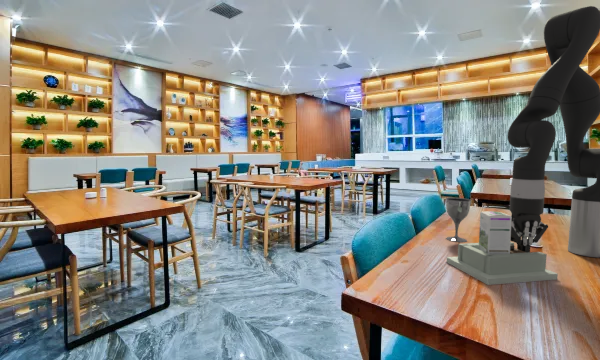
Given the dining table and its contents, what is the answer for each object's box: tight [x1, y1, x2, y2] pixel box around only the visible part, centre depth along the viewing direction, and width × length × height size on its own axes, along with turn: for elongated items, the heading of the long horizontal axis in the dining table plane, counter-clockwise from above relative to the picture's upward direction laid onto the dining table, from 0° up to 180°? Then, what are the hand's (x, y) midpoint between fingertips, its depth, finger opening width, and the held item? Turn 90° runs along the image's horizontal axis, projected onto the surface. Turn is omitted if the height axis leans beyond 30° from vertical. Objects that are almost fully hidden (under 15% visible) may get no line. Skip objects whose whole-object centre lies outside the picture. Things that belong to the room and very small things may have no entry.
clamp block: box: [510, 245, 527, 254], centre depth 87 cm, size 4×7×5 cm, turn 10°
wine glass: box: [445, 197, 471, 243], centre depth 116 cm, size 8×8×15 cm
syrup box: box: [478, 210, 512, 255], centre depth 85 cm, size 6×6×14 cm
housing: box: [446, 241, 559, 286], centre depth 86 cm, size 20×16×6 cm
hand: (523, 257), depth 87 cm, fingers closed
